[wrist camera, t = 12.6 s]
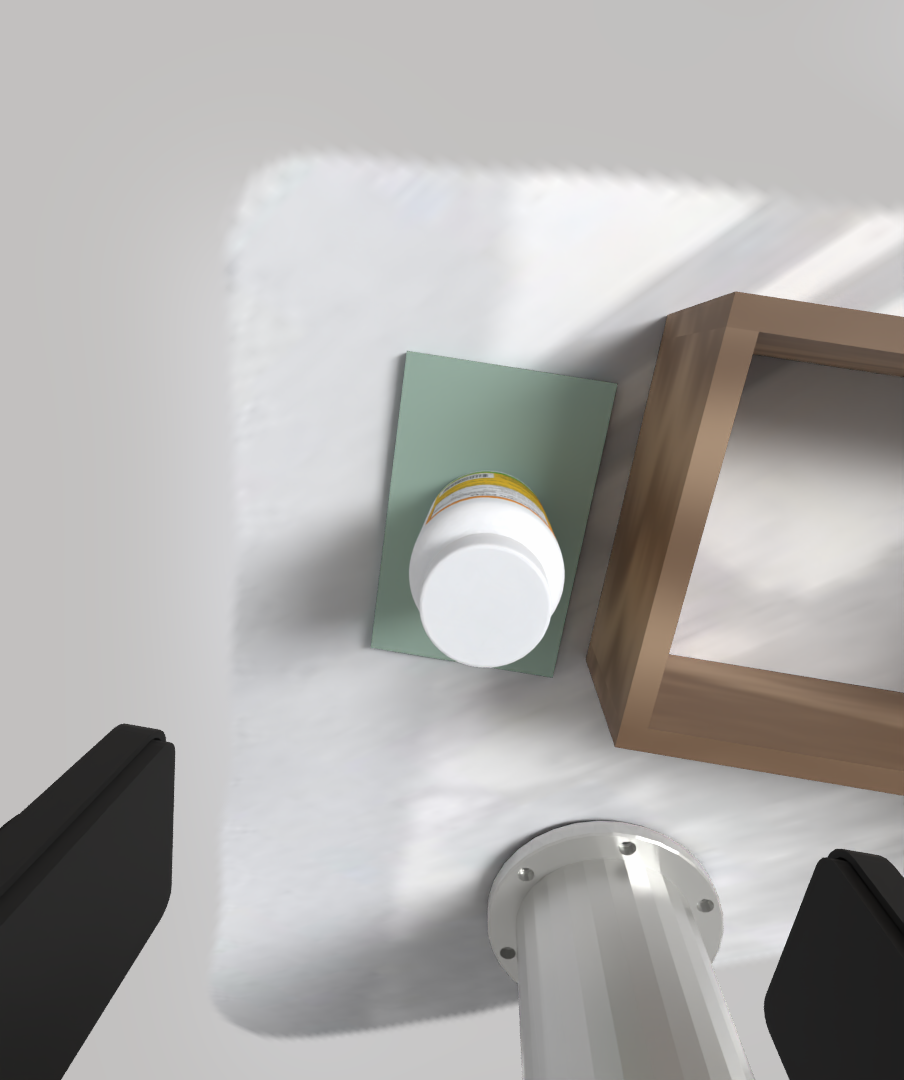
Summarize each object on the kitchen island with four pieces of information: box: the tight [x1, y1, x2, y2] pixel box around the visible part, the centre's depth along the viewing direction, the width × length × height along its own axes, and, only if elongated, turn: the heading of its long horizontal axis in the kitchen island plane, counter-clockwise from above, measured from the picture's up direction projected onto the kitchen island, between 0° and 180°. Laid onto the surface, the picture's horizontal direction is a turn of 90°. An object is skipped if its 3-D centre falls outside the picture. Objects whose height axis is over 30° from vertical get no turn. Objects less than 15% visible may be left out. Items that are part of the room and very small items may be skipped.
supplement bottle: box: [409, 471, 565, 668], centre depth 22 cm, size 5×5×10 cm
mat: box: [371, 351, 617, 678], centre depth 27 cm, size 14×9×1 cm, turn 172°
